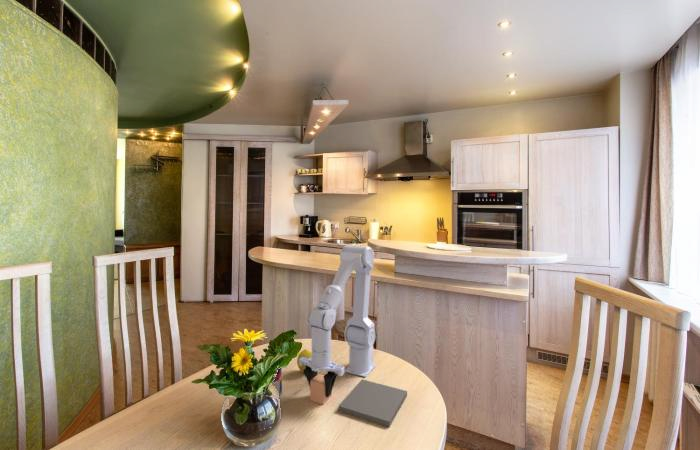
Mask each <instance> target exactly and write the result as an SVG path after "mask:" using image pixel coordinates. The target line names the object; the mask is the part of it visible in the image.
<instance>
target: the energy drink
mask: <svg viewBox="0 0 700 450" xmlns="http://www.w3.org/2000/svg"><path fill="white" fill-rule="evenodd" d="M272 385H273V386H275V388H276V389H277V391H278V393H279V396H280V397H281V396H282V395H283V367H282V368H280V369H278V372H277V375H276V377H275V380H274V381H273V382H272Z"/></svg>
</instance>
